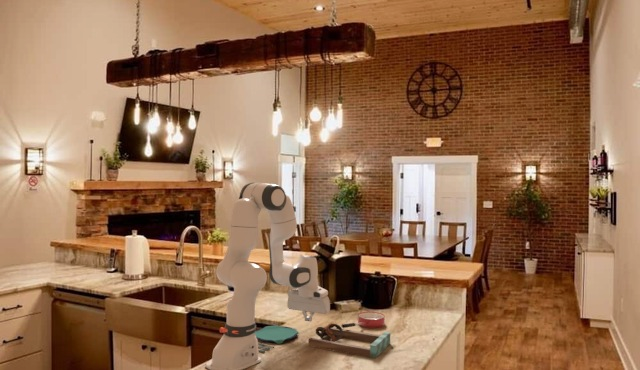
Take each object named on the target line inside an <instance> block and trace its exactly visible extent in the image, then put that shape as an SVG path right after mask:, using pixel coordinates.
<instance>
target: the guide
mask: <svg viewBox="0 0 640 370" xmlns="http://www.w3.org/2000/svg"><path fill="white" fill-rule="evenodd" d="M342 330H343V332H342V334H343V335H342V338H345V339H352V340H358V341H364V342H367V343H368V342H370V345H369V347H368V346H367V347H366V346H360V345H355V344H350V343H343V342H338V341H335V342H333V341H331V340H327V339H321V338H320V339H319V338H315V337H309V338H308V344H307V345H308V347H311V346H312V347H313V348H317V347H318V349H322V348H323V349H324V350H328V351H333V350H334V351H335V352H339V353H345V354H349V355H357V356H361V357H366V358H373V359H377V358H378V357H379V356H380V355H381V353H383V351H385V350H386V349H387V347H389V345H390V344H391V332H390V331H384V332H383V333H382V334H381V335H380V334H375V333H369V332H363V331H357V330H350V329H345V328H342ZM330 331H331V332H333V336H335V334H340V333H341V331H340V330H339V329H337V328H336V327H333V328H331V329H330ZM323 349H322V350H323ZM334 351H333V352H334Z"/></svg>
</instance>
